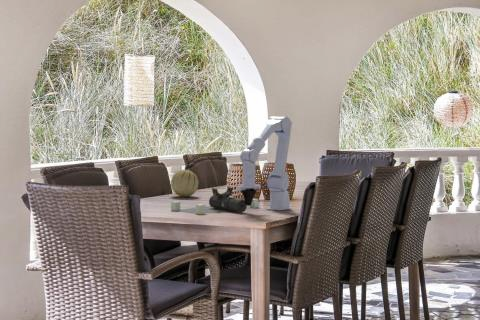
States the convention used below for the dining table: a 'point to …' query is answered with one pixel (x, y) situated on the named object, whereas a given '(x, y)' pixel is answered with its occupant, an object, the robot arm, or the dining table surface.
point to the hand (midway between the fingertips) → (248, 205)
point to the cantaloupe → (184, 183)
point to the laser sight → (226, 201)
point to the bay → (205, 208)
